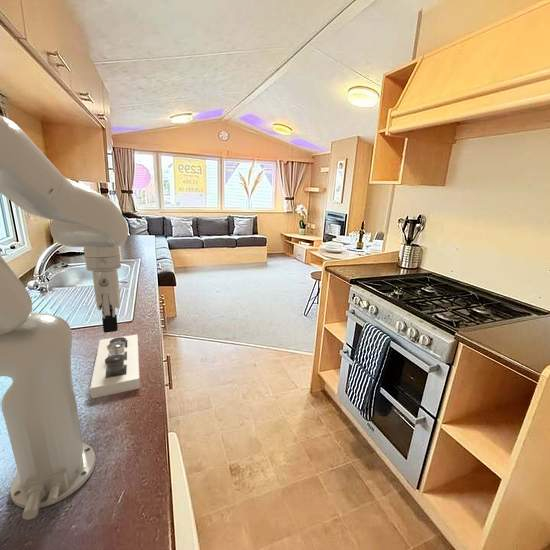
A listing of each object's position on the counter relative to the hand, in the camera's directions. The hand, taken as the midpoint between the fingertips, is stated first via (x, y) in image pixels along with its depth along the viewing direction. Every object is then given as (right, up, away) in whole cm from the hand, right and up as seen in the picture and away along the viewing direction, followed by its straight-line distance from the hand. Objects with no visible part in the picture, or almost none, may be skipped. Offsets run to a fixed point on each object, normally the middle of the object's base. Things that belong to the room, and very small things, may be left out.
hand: (110, 330), depth 79 cm
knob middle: (-3, -10, +8) cm, 13 cm away
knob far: (-6, -10, +16) cm, 19 cm away
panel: (-3, -12, +9) cm, 15 cm away
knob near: (0, -12, +2) cm, 12 cm away
